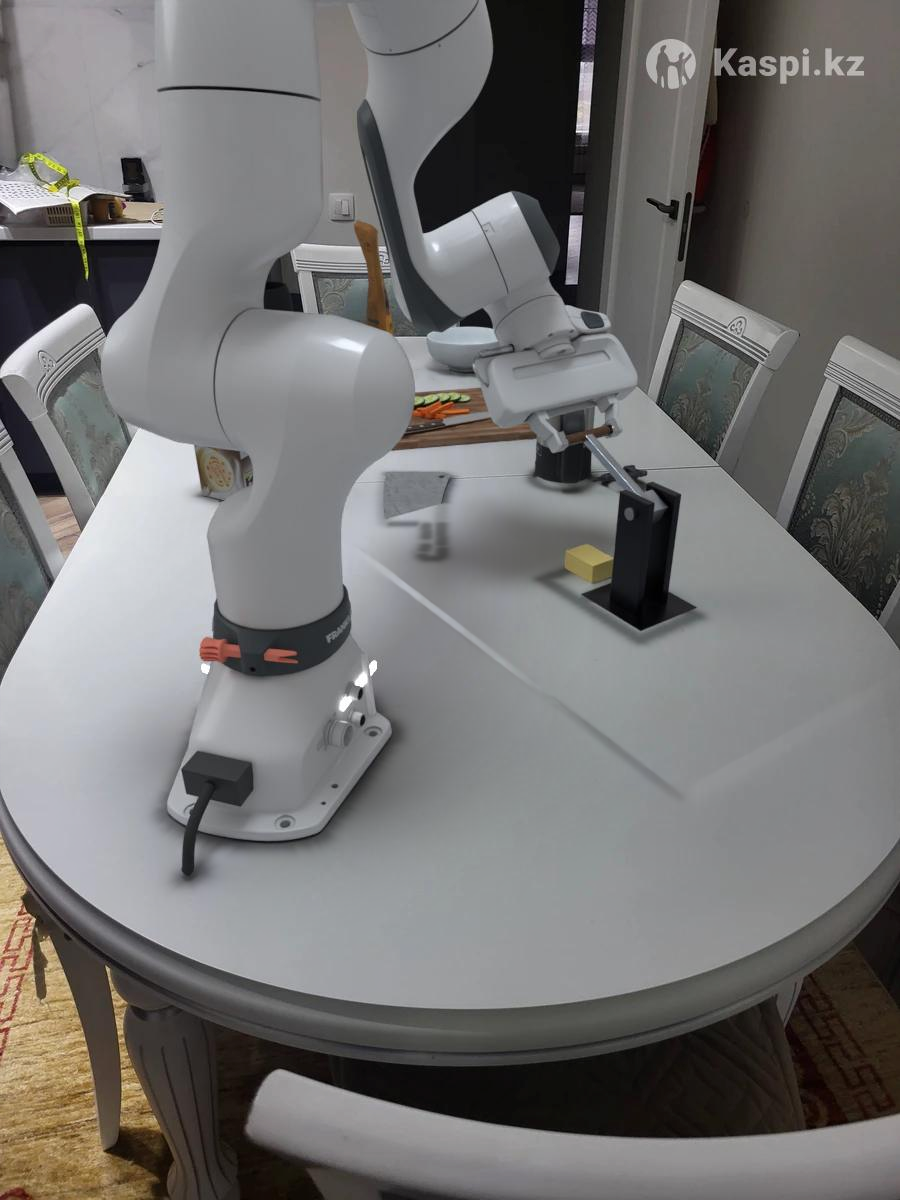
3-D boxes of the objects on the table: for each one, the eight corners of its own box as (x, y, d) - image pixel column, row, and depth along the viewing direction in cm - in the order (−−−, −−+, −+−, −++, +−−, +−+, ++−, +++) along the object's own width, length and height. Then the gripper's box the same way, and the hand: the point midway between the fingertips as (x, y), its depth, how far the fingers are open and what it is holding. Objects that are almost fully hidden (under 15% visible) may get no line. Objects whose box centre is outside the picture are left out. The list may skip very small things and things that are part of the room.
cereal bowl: (513, 360, 198) (514, 328, 195) (493, 381, 185) (494, 346, 181) (441, 354, 203) (440, 323, 199) (416, 374, 189) (415, 341, 186)
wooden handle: (369, 364, 197) (362, 228, 183) (360, 343, 213) (352, 216, 199) (399, 362, 198) (394, 226, 184) (388, 341, 214) (382, 215, 200)
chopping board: (528, 390, 179) (529, 375, 177) (572, 435, 156) (573, 418, 154) (303, 407, 171) (301, 391, 169) (314, 456, 148) (312, 438, 146)
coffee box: (274, 491, 135) (262, 387, 127) (247, 506, 131) (233, 399, 123) (227, 481, 139) (212, 379, 131) (199, 495, 134) (182, 391, 126)
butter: (564, 569, 111) (565, 550, 110) (585, 561, 113) (587, 543, 111) (591, 585, 107) (592, 566, 106) (612, 577, 109) (614, 558, 108)
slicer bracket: (579, 602, 106) (588, 487, 98) (635, 581, 110) (647, 469, 103) (639, 640, 99) (654, 518, 91) (696, 616, 103) (714, 498, 95)
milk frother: (523, 471, 141) (526, 379, 134) (611, 459, 146) (619, 369, 138) (561, 506, 130) (567, 407, 122) (656, 491, 134) (668, 395, 127)
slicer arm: (558, 445, 103) (564, 430, 101) (600, 434, 106) (607, 419, 104) (630, 531, 96) (639, 516, 95) (673, 516, 100) (682, 502, 98)
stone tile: (370, 558, 116) (446, 557, 116) (369, 554, 116) (446, 554, 115) (386, 473, 141) (449, 473, 141) (386, 470, 141) (449, 470, 141)
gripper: (478, 337, 97) (530, 447, 95) (616, 312, 107) (667, 412, 105) (455, 368, 103) (504, 473, 101) (589, 342, 113) (636, 438, 110)
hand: (588, 442), depth 103 cm, fingers open, 7 cm apart
